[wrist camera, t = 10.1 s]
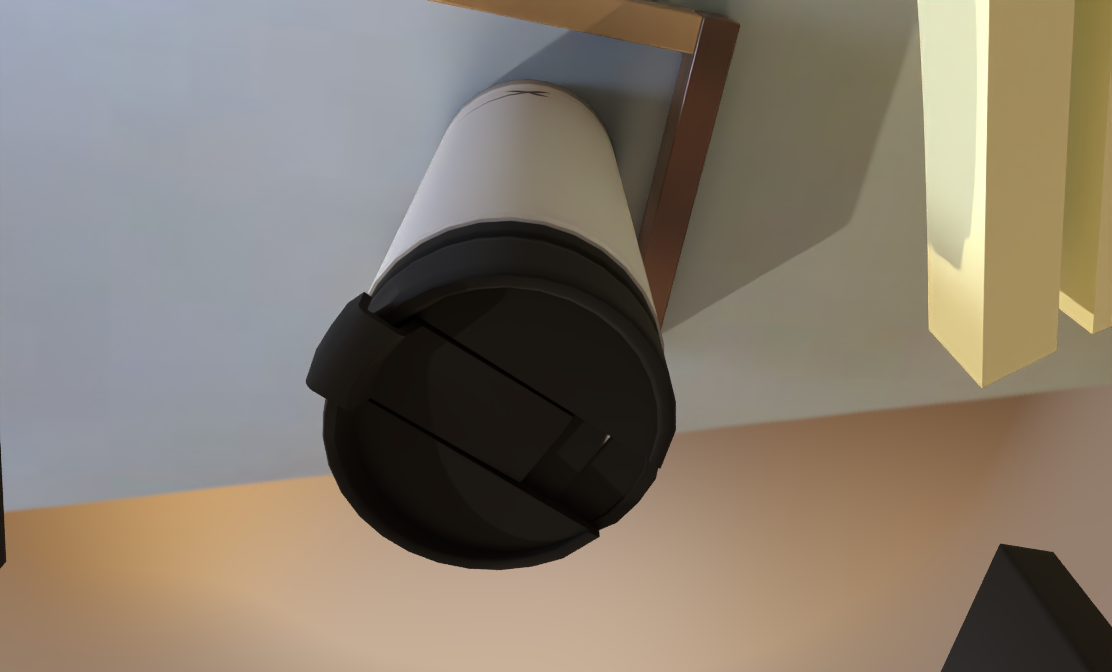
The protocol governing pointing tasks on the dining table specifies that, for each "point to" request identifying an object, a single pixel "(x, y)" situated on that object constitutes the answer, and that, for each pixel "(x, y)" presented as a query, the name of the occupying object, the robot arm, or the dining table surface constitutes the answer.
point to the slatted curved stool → (1016, 175)
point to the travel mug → (502, 347)
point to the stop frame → (707, 44)
